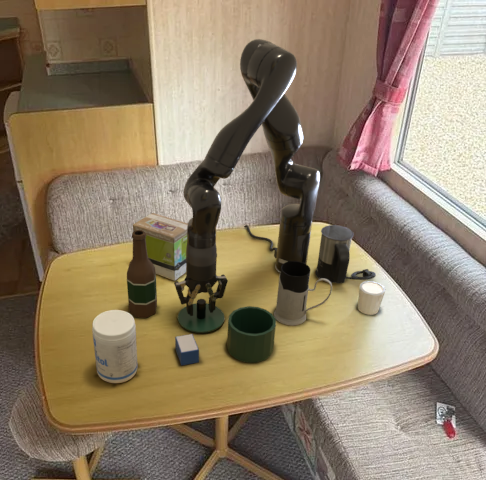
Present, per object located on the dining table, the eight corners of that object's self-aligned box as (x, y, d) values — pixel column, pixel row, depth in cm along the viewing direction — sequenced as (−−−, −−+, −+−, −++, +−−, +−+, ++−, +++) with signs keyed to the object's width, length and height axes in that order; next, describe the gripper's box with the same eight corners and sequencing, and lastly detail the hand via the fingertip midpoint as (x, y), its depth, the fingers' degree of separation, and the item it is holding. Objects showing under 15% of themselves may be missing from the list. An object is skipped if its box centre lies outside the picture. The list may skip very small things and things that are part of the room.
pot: (221, 336, 141) (222, 310, 137) (263, 329, 144) (265, 303, 140) (235, 366, 132) (237, 338, 128) (279, 358, 135) (283, 331, 130)
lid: (173, 310, 151) (172, 291, 147) (216, 303, 154) (217, 285, 150) (184, 338, 141) (183, 319, 137) (230, 330, 144) (231, 311, 140)
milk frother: (309, 270, 169) (314, 227, 160) (352, 260, 174) (359, 218, 166) (335, 295, 158) (343, 250, 150) (380, 284, 163) (390, 240, 155)
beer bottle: (162, 306, 152) (160, 229, 139) (148, 321, 146) (144, 243, 133) (138, 298, 155) (133, 222, 142) (123, 314, 149) (116, 235, 136)
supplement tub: (88, 371, 130) (81, 322, 122) (119, 351, 136) (114, 303, 128) (116, 391, 125) (111, 341, 117) (146, 369, 131) (143, 320, 123)
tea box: (193, 267, 169) (193, 224, 161) (174, 282, 162) (173, 238, 154) (154, 252, 176) (152, 210, 168) (134, 266, 169) (131, 223, 160)
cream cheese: (175, 349, 137) (175, 336, 135) (192, 346, 138) (192, 333, 136) (181, 365, 132) (181, 352, 130) (199, 362, 133) (199, 349, 131)
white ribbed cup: (381, 317, 149) (386, 296, 146) (355, 314, 150) (359, 293, 147) (380, 303, 155) (384, 282, 151) (355, 299, 156) (359, 279, 152)
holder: (278, 302, 154) (283, 256, 146) (329, 314, 150) (337, 268, 142) (269, 320, 147) (274, 273, 139) (322, 333, 143) (330, 285, 135)
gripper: (224, 246, 141) (222, 300, 151) (169, 253, 138) (171, 308, 147) (233, 261, 135) (231, 316, 145) (176, 269, 132) (177, 325, 141)
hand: (200, 312), depth 146 cm, fingers open, 5 cm apart
